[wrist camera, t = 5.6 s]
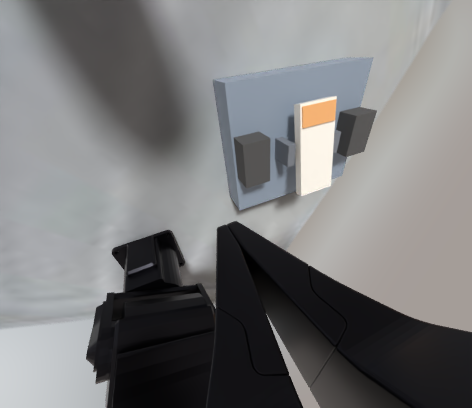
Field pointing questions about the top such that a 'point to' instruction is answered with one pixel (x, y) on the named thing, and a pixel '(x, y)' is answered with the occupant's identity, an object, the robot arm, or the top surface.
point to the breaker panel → (282, 117)
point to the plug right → (354, 130)
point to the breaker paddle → (314, 144)
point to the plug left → (252, 158)
